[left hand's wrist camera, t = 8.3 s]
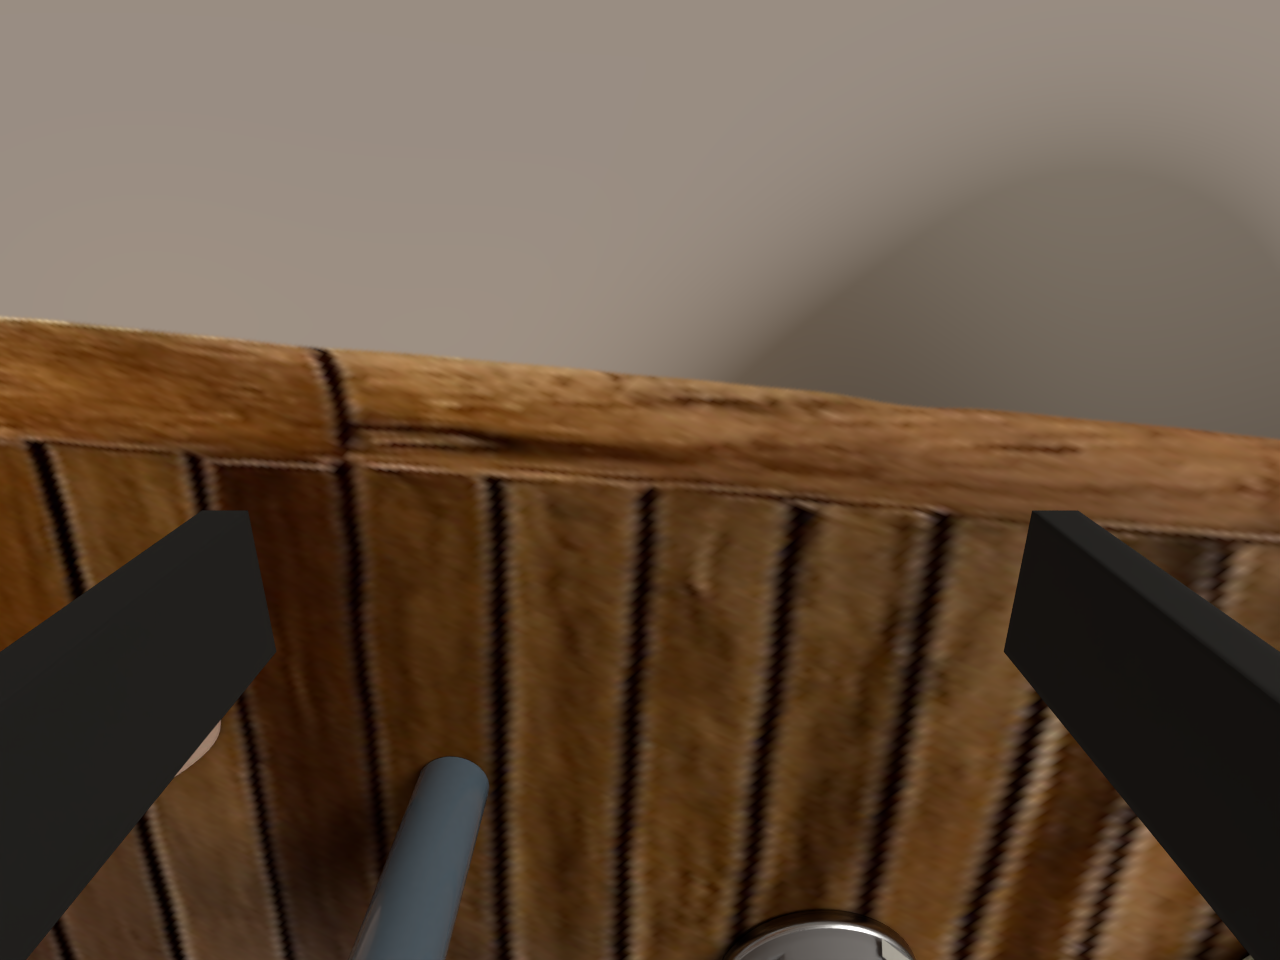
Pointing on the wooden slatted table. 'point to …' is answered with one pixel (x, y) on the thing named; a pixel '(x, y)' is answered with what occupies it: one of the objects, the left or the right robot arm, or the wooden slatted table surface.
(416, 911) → the blue grey capped cylinder
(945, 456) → the wooden slatted table surface
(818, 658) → the wooden slatted table surface
